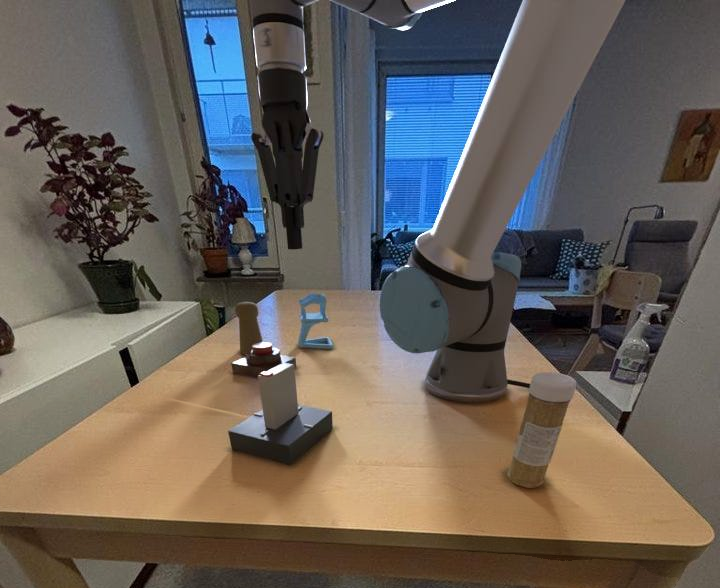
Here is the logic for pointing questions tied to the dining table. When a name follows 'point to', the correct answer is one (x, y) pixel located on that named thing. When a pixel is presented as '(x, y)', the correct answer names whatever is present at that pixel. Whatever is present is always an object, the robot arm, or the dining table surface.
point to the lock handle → (278, 395)
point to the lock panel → (281, 435)
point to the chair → (313, 322)
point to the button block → (260, 362)
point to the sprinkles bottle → (540, 427)
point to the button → (262, 348)
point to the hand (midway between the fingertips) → (295, 248)
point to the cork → (248, 325)
